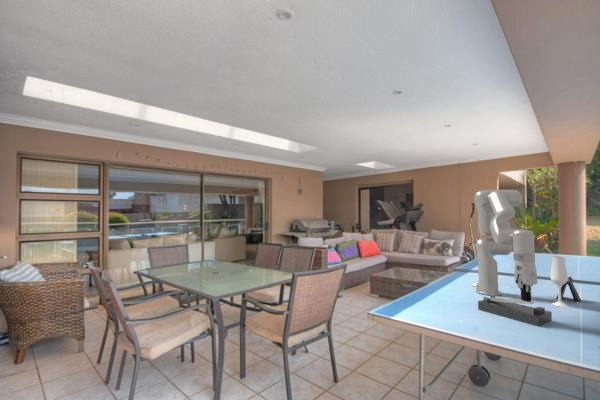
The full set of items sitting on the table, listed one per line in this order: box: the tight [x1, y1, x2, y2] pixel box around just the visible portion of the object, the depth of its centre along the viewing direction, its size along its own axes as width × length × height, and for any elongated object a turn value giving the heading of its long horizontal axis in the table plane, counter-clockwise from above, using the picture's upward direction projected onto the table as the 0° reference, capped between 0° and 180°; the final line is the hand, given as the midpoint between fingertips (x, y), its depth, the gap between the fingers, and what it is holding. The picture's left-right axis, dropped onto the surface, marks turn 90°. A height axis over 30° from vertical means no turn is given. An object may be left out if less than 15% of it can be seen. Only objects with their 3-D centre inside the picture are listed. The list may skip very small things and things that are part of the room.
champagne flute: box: [549, 255, 569, 308], centre depth 147 cm, size 7×7×24 cm
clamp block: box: [477, 295, 553, 328], centre depth 132 cm, size 24×12×6 cm, turn 29°
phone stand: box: [555, 275, 582, 303], centre depth 156 cm, size 9×6×12 cm, turn 39°
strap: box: [487, 297, 535, 305], centre depth 133 cm, size 18×4×1 cm, turn 29°
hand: (526, 300), depth 127 cm, fingers closed
